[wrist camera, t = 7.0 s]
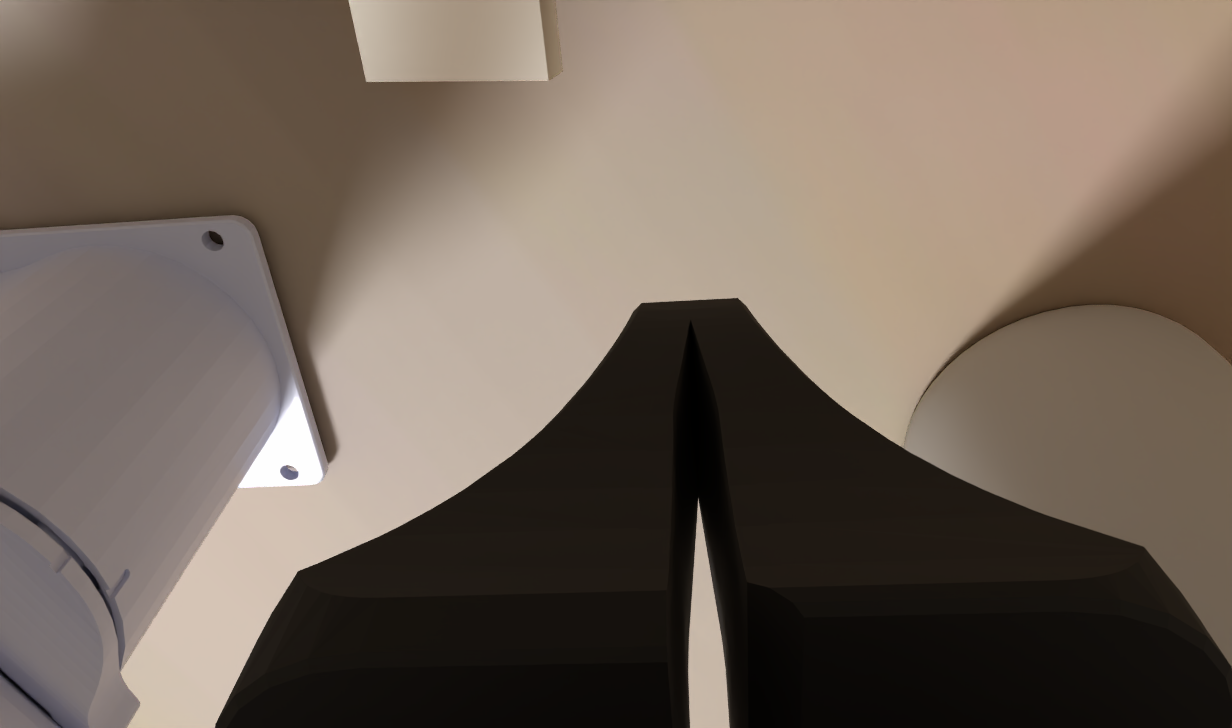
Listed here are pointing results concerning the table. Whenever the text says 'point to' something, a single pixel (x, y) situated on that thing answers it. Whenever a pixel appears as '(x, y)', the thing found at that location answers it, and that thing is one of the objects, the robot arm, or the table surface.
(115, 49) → the table surface
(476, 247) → the table surface
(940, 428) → the mug
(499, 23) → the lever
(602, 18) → the table surface
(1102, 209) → the table surface
